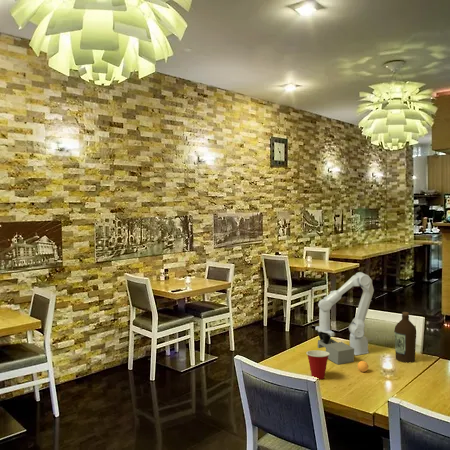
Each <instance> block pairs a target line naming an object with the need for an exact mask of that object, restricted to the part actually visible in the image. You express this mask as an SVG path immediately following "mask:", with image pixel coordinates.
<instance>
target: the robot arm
mask: <svg viewBox="0 0 450 450" xmlns="http://www.w3.org/2000/svg"><path fill="white" fill-rule="evenodd" d="M354 287H360V288H361V289H362V293H361V297H360V300H359V303H358V306H357V310H356V313H355V317H354V318H353V319H352V321H351V322H350V324H349V325H348V331H349V333H350V334H349V346H350V347H352V348H354V356H360V355H364V354H369V341H368V337H367V336H365V333H366V331H365V327H366V323H365V320H366V317H367V314H368V311H369V308H370V304H371V301H372V298H373V294H374V292H375V289H374V286H373V279H371V277H370V275H368V274H366V273H364V272H362V271H359V272H356V273H355V274H354V275H352V276H351V277H350V278H349V279H348V280H346V282H345V283H344V284H342V285H341V287H339V288H338V289H337V290H331V291H330V292H329V294H328V295H326V296H324V297H323V299H320V300H319V301H318V303H317V305H318V308H319V311H318V312H319V314H318V315H319V316H318V317H319V319H318V322H319V323H318V325H317V326H315V331H317V335H318V337H319V340H323V343H325V344H328V343H329V340H330V338H331V339H332V337H335V332H334V331H332V330H331V319H330V318H331V313H330V312H331V311H330V310H331V309H332V306H334V305H336V303H337V302H339V301H340V300H342V296H343V295H344V294H345V293H347V292H348V291H349V290H350V289H352V288H354Z"/></svg>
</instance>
